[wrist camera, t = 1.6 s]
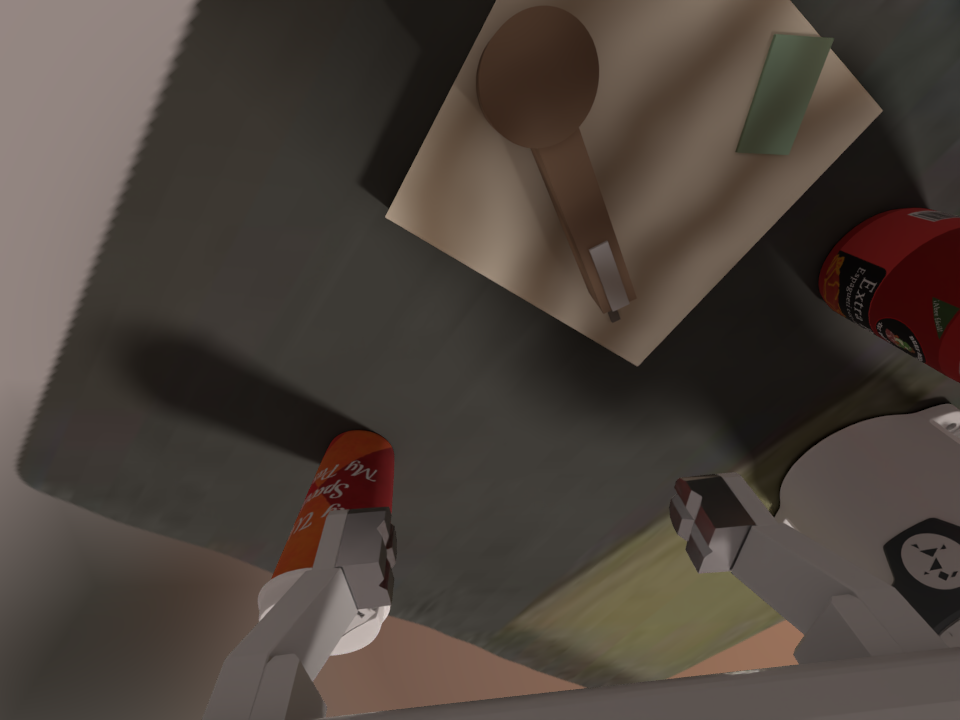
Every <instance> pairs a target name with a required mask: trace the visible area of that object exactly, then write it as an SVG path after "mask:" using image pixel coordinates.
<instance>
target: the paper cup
mask: <svg viewBox="0 0 960 720" xmlns="http://www.w3.org/2000/svg"><path fill="white" fill-rule="evenodd" d="M393 479H394V451H393V448H392V446H391V445H390V443H389V442H388V441H387V440H386V439H385V438H384V437H382V436H380V435H379V434H376V433H374V432H371V431H366V430H351V431H347V432H344V433H341V434H339V435H338V436H336V437H335V438H334V439H333V440H332V442H331V443H330V445H329V447H328V449H327V451H326V453H325V455H324V457H323V459H322V461H321V464H320V466H319V468H318V471H317V473H316V475H315V477H314V480H313V482H312V484H311V487H310V489H309V491H308V494H307V496H306V498H305V501H304V503H303V505H302V508H301V510H300V512H299V515H298V517H297V519H296V522H295V524H294V526H293V529H292V531H291V534H290V536H289V538H288V541H287V543H286V545H285V548H284V550H283V552H282V555H281V557H280V559H279V562H278V564H277V566H276V569H275V571H274V573H273V576H272V578H271V580H270V581H269V582H267V583H266V584H265V585H264V586H263V588H262V589H261V591H260V593H259V595H258V607H259V611H260V613H259V622H260V620H261V619H262V618H263V617H264V616H265V615H266V614H267V613H268V612H269V611H270V610H271V608H272V607H273V606H274V605H275V604H276V603H277V602H278V601H279V600H280V599H281V598H282V596H283V595H284V594H285V593H286V592H287V591H288V590H289V589H290V588H291V587H292V586H293V584H294V583H295V582H296V581H297V580H298V579H299V578H300V577H301V576H302V575H303V574H304V572H305V571H309V570H312V568H313V564H314V561H315V557H316V553H317V550H318V546H319V542H320V539H321V535H322V531H323V528H324V524H325V520H326V517H327V515H328V514H329V512H330V511H334V510H346V509H358V508H373V507H389V508H390V511H391V512H392V496H393ZM357 611H358V613H357V614H356V616H355V617H354V619H353V620H352V622H351V623H350V625H349V627H348V628H347V630H346V631H345V633H344V634H343V636H342V637H341V639H340V640H339V642H338V644H337V645H336V647H335V648H334V650H333V651H332V653H331V654H330V655H340V654H345V653H350V652H353V651H356V650H359V649H361V648H363V647H365V646H366V645H368V644H369V643H371V642H372V641H373V640H374V639H375V637H376V636H377V635H378V633H379V631H380V628H381V625H382V623H383V621H384V620H385V619H386V617H387V616H388V613H389V611H390V605H389V606H382V607H374V608H367V609H359V610H357Z"/></svg>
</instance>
